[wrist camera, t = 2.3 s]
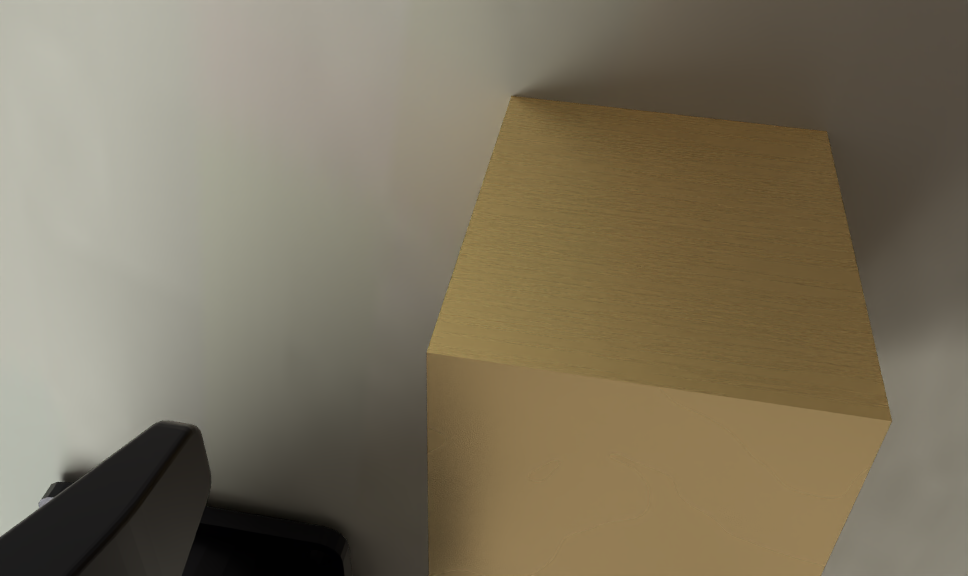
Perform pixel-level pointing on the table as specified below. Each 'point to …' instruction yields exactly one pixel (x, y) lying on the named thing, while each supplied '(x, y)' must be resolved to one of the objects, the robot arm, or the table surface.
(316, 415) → the table surface
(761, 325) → the tan wooden block
